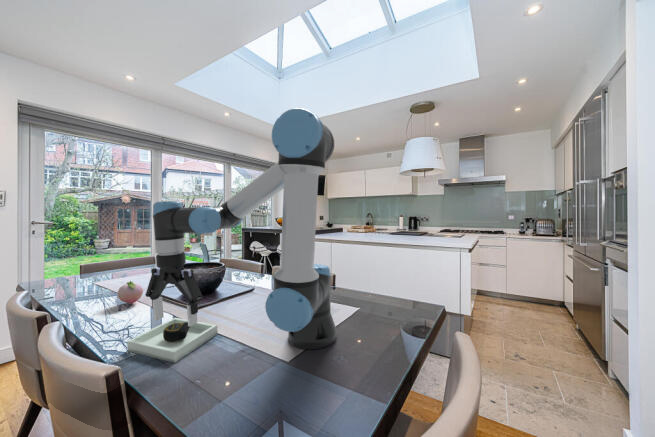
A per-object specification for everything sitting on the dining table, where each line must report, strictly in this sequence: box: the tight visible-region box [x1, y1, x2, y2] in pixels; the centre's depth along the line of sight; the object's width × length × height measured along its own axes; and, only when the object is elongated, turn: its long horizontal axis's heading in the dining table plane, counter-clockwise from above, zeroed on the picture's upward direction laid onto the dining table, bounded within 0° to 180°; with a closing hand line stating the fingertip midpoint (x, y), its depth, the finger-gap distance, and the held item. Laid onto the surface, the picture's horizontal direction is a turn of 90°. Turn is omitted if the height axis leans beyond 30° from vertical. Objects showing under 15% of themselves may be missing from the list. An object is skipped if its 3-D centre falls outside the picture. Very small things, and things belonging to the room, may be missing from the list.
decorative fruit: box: [117, 280, 144, 305], centre depth 111 cm, size 9×8×10 cm
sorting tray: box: [126, 317, 219, 364], centre depth 81 cm, size 18×16×3 cm
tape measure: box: [163, 322, 191, 342], centre depth 81 cm, size 7×7×4 cm
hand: (175, 321), depth 80 cm, fingers open, 13 cm apart
